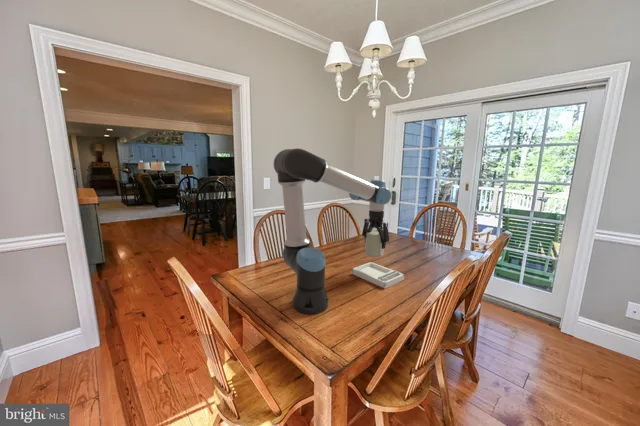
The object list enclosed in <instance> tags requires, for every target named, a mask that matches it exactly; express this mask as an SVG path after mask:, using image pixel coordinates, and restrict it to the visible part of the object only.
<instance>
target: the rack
mask: <svg viewBox="0 0 640 426" xmlns="http://www.w3.org/2000/svg"><path fill="white" fill-rule="evenodd" d="M351 275H354V276H356V277H358V278H361V279H363V280H365V281H367V282H368V283H369V282H370V283H371V284H374V285H376V286H378V287H380V288H381V289H382V288H383V289H385V290H386V289H388V288H390V287H391V286H392V287H393V286H394V285H396V284H399V283H401V282H402V280H403V281H404V280H405V274H404V273H401V272H400V271H398V270H396V269H394V270H393V269H391V268H388V267H386V266H383V265H379V264H377V263H375V262H372V261H369V262H367V263H363V264H360V265H358V266H356V267H352V268H351Z"/></svg>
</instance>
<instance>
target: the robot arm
mask: <svg viewBox="0 0 640 426" xmlns="http://www.w3.org/2000/svg"><path fill="white" fill-rule="evenodd" d="M273 168H274V171H275V173H276V174H277V184H279V185H281V187H282V196H283V197H282V198H283V199H282V200H283V209H284V217H285V218H284V219H285V220H284V221H285V227H286V239H285V241H284V242H283V243H284V248H283V250H282V258H283V260H284V263H285V264H286V265H287V266H288V267H289V268H290V269H291V270H292V271H293V272H294V273H295V274H296V290H295V292H294V295H293V298H292V308H293V309H294V310H295V311H297V312H298V313H300V314H301V313H302V314H305V315H315V314H320V313H322V312H324V311H326V310H327V308H328V307H329V297H328V295H327V290H326V287H325V286H326V285H325V280H326V278H325V276H326V256H325V253H324V252H323V251H322V250H321V249H318V248H315V247H311V240H310V239H309V238H308V237H307V230H306V217H305V203H304V193H303V185H304V183H305V182H306V180H307V181H310V182H313V183H315V184H316V183H323V184H326V185H328V186H330V187H333V188H335V189H338V190H341V191H344V192H346V193H348V195H349V198H350V199H351V200H352V201H365V202H369V208H368V209H369V210H368V217H369V218H364V224H363V228H362V233H361V236H363V237H364V247H365V248H364V249H365V251H366V238H367V232H371V231H373V229H374V228H375V229H376V231H378V232H379V235H380V239H381V242H380V252H379V254H380V255H382V254H383V255H384V254H385V249H386V244H387V243H388V242H390V235H389V222H385V221H384V216H385V205H387V204H388V203H390V201H391V199H392V192H391V190H390V189H389V188H388V187H386V181H385V180H383V179H371V180H370V181H368V180H365V179H363V178H361V177H358V176H356V175H354V174H351V173H349V172H347V171H345V170H342V169H340V168H338V167H336V166H334V165H332V164H328V163H327V160H326V159H324V158H322V157H320V156H318V155H316V154H314V153H312V152H310V151H307V150H305V149H302V148H287V149H286V148H285V149H284V150H281V151H279V152H278V153H277V154H276V155H275V157H274V159H273Z"/></svg>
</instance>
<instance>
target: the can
mask: <svg viewBox="0 0 640 426" xmlns="http://www.w3.org/2000/svg"><path fill="white" fill-rule="evenodd" d="M380 242H381V239H380V235H379V232H378V230H376V231H375V230H372V231H371V232H367V238H366V250H365V255H366V256H368V257H372V258H380V257H383V256H384V254H382V255H380V254H379V252H380Z"/></svg>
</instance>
